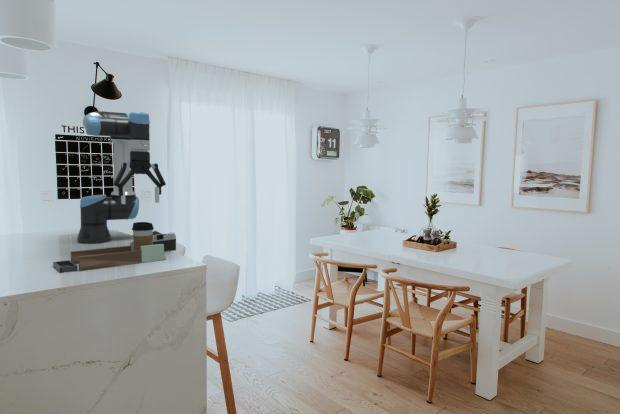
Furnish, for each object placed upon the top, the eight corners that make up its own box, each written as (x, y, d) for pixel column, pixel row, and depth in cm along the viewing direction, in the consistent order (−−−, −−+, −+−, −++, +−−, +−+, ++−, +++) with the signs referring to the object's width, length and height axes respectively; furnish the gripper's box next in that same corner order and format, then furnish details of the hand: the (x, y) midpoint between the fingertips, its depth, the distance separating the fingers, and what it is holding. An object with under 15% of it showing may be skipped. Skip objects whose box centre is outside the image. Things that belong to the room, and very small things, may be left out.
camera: (168, 248, 193) (168, 227, 192) (179, 250, 188) (179, 229, 187) (136, 253, 180) (136, 230, 180) (147, 255, 175) (146, 232, 174)
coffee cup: (149, 256, 174) (148, 221, 173) (157, 259, 168) (157, 223, 167) (129, 258, 169) (128, 222, 167) (137, 262, 163) (136, 224, 161)
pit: (53, 266, 152) (53, 262, 152) (69, 264, 156) (69, 260, 156) (60, 273, 143) (59, 267, 143) (77, 270, 147) (77, 265, 147)
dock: (130, 257, 171) (129, 242, 171) (154, 254, 178) (153, 239, 178) (141, 262, 161) (141, 246, 161) (166, 259, 168) (166, 244, 168)
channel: (71, 264, 157) (70, 251, 156) (130, 257, 171) (130, 245, 171) (79, 270, 147) (79, 257, 146) (141, 262, 161) (141, 250, 161)
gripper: (109, 149, 154) (111, 205, 156) (173, 152, 170) (173, 202, 172) (103, 149, 159) (105, 203, 161) (166, 152, 176) (166, 201, 178)
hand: (140, 203), depth 167 cm, fingers open, 13 cm apart
